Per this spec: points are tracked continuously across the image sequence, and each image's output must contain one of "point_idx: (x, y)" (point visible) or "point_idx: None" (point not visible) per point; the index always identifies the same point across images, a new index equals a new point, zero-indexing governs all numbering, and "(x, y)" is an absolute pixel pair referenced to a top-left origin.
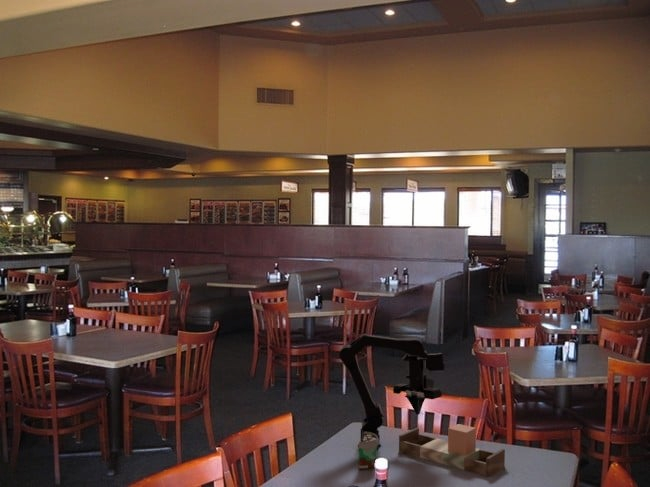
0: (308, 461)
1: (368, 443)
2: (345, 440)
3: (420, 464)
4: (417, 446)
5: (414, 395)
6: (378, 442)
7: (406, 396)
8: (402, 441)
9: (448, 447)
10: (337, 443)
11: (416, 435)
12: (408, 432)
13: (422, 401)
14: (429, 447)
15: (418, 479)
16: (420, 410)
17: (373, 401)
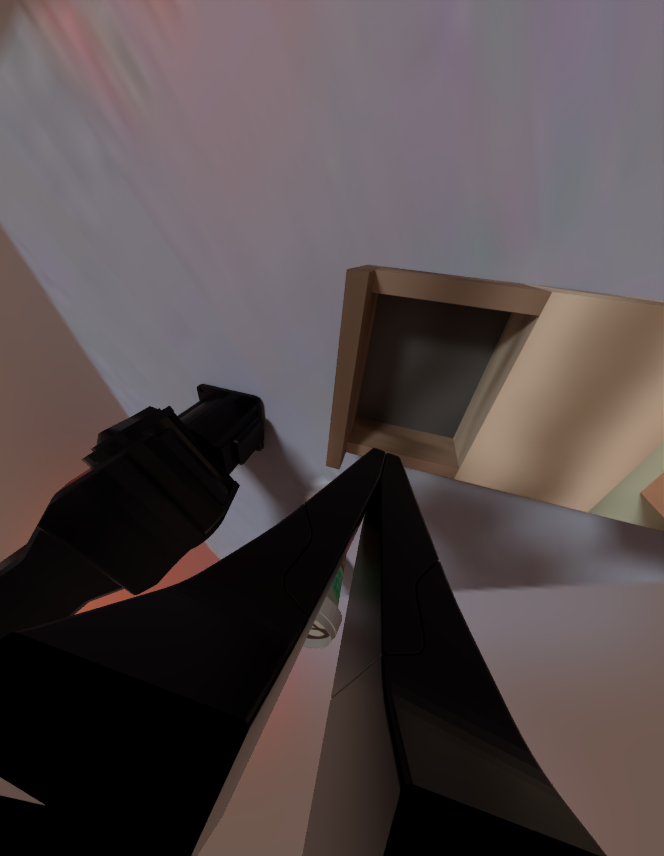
0: (219, 541)
1: (325, 640)
2: (148, 401)
3: (468, 500)
4: (438, 472)
5: (194, 840)
6: (336, 616)
7: (141, 748)
8: (350, 450)
9: (659, 509)
10: None
11: (370, 306)
12: (344, 405)
13: (461, 692)
14: (509, 477)
15: (487, 581)
16: (409, 491)
17: (43, 575)
